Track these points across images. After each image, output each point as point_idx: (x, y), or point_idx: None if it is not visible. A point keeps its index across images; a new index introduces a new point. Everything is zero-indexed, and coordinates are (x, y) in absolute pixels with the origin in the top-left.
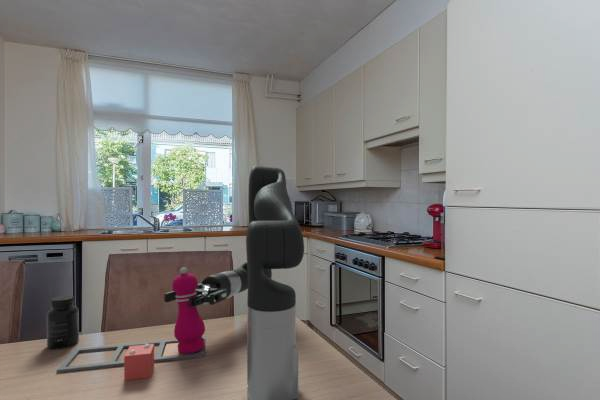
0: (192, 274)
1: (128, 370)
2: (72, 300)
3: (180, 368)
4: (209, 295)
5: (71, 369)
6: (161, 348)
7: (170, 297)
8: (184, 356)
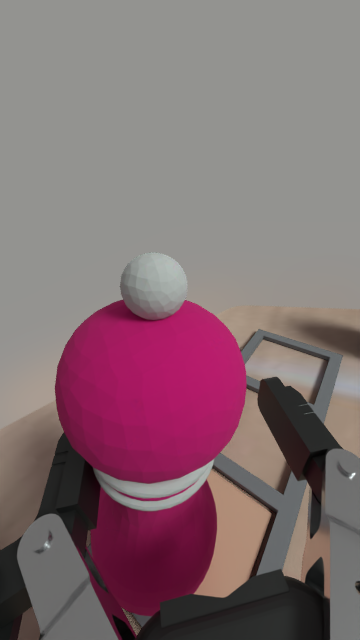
0: (101, 361)
1: None
2: None
3: None
4: (8, 596)
5: (251, 339)
6: (231, 471)
7: (271, 414)
8: None
